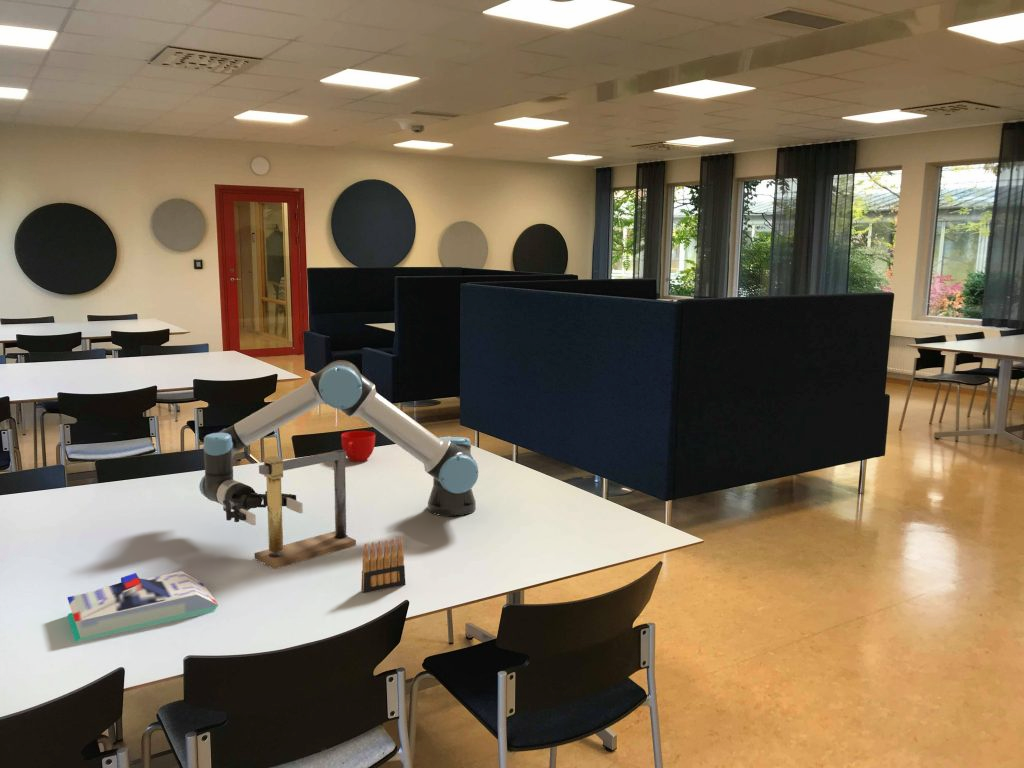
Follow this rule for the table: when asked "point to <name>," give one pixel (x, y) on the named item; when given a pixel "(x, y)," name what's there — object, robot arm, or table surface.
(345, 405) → the robot arm
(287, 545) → the walnut board
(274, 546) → the brass leg
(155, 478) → the table surface
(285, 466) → the steel frame
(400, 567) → the ammunition clip
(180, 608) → the toy car
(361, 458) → the ceramic cup
